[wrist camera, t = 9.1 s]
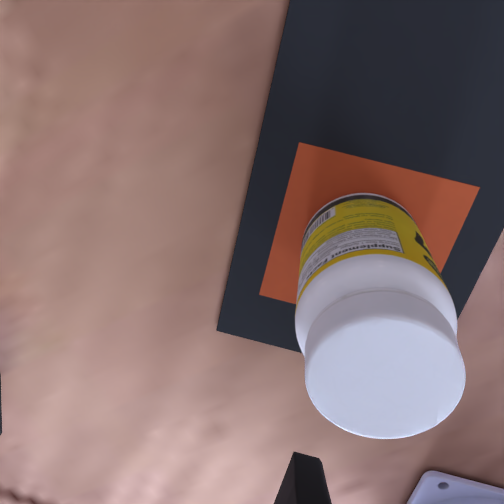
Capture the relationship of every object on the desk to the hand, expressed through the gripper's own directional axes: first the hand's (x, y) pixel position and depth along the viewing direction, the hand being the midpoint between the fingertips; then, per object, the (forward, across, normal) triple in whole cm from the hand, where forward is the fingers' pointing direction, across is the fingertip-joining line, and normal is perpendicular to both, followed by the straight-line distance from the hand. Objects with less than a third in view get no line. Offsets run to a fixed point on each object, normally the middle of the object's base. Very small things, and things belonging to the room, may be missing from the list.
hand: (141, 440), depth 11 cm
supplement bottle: (+10, -6, -2) cm, 12 cm away
